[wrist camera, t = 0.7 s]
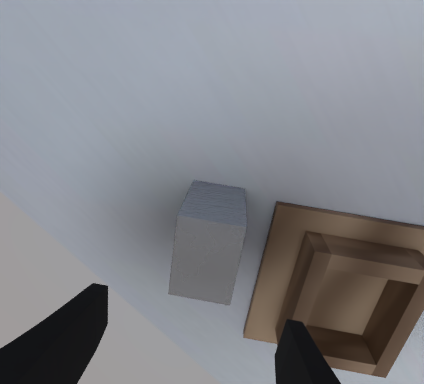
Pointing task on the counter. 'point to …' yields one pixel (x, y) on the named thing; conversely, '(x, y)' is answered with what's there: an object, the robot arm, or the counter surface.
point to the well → (340, 285)
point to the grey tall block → (208, 242)
